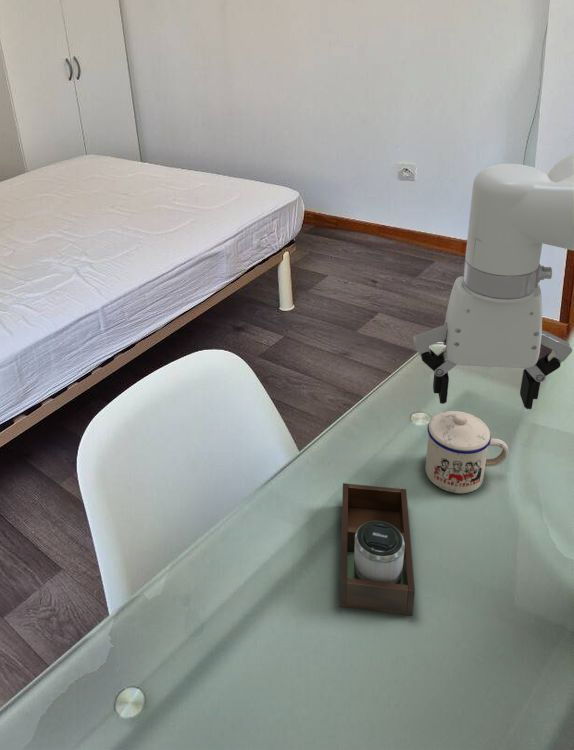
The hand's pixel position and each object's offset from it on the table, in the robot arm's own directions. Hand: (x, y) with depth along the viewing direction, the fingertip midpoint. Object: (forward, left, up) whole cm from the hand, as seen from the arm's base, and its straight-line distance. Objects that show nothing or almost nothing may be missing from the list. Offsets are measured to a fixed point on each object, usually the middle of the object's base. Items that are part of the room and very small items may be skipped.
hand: (483, 399), depth 84 cm
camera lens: (+12, +7, -26) cm, 29 cm away
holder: (+12, +2, -26) cm, 29 cm away
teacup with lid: (-2, -15, -26) cm, 30 cm away
